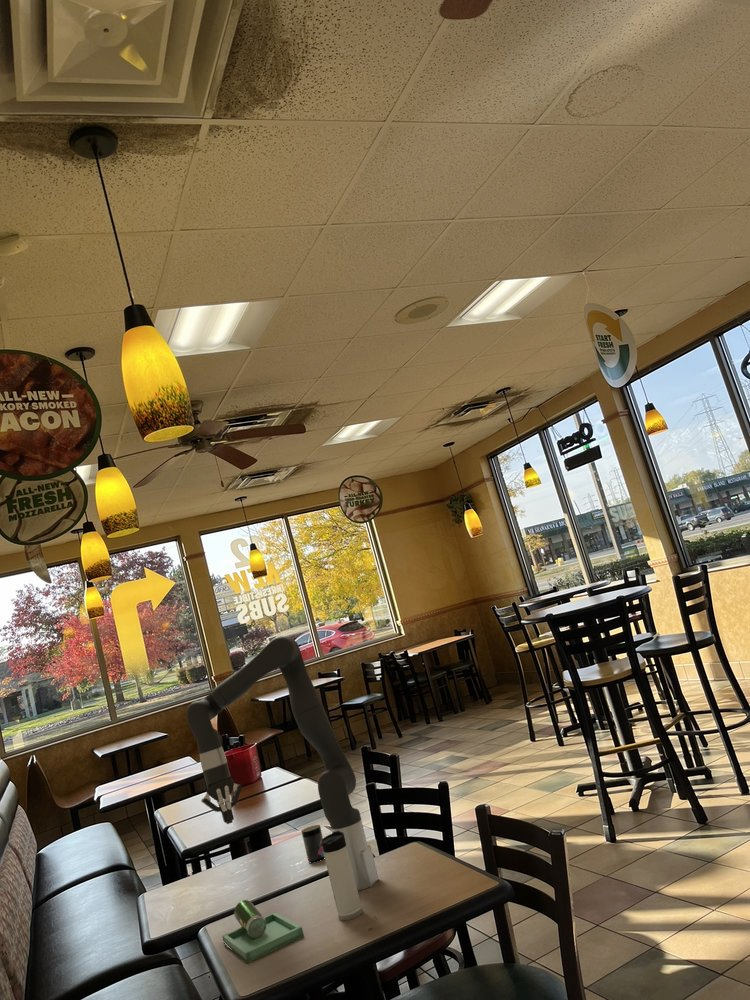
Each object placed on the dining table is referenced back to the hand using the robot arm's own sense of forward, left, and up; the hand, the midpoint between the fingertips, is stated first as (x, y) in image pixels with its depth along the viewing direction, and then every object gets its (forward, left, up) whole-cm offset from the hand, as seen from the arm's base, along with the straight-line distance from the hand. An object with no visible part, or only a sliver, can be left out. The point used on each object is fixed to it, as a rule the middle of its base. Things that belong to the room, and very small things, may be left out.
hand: (229, 823), depth 218 cm
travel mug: (-40, +14, -25) cm, 49 cm away
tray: (-18, +22, -25) cm, 38 cm away
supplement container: (-4, -39, -25) cm, 47 cm away
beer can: (-9, +15, -20) cm, 26 cm away
